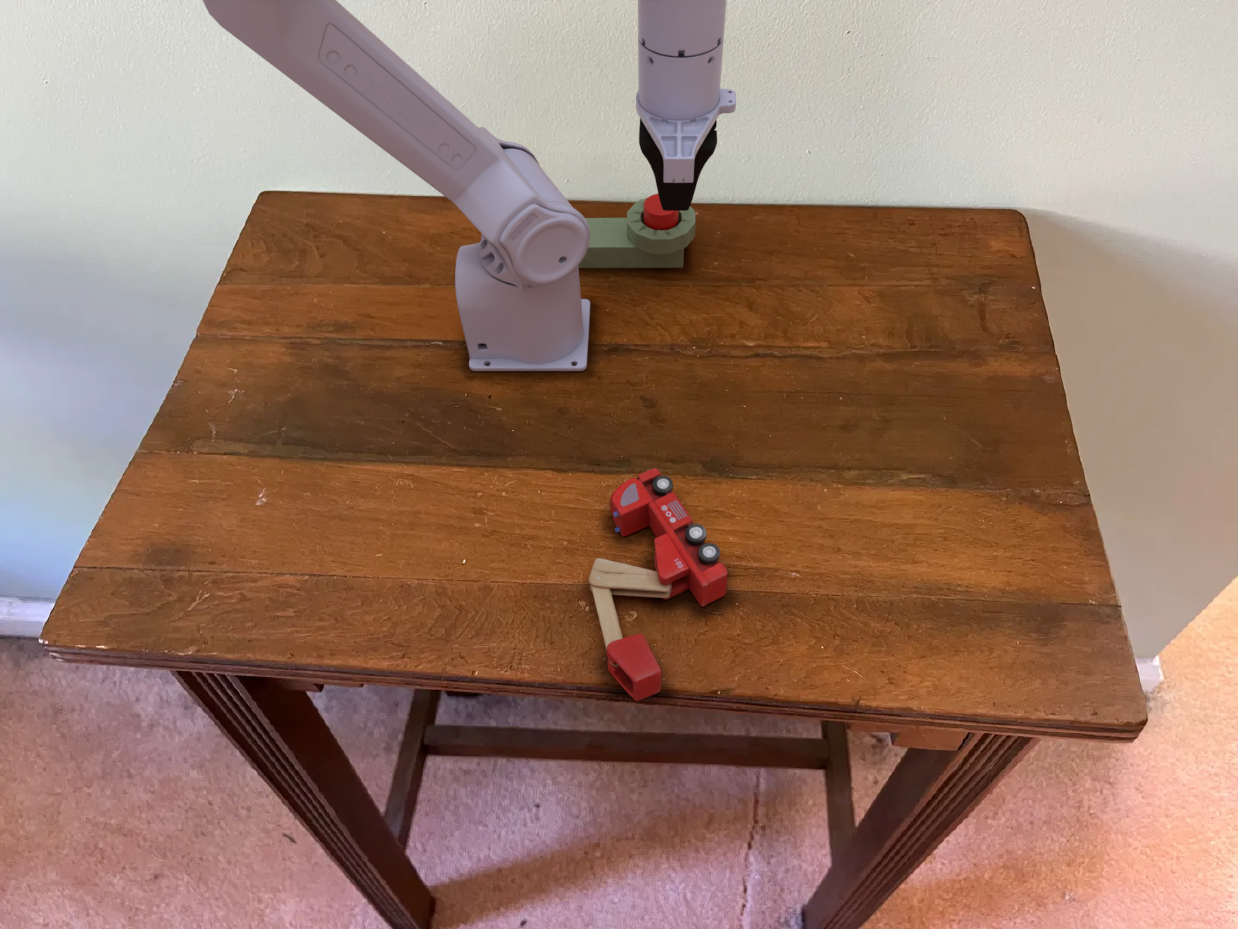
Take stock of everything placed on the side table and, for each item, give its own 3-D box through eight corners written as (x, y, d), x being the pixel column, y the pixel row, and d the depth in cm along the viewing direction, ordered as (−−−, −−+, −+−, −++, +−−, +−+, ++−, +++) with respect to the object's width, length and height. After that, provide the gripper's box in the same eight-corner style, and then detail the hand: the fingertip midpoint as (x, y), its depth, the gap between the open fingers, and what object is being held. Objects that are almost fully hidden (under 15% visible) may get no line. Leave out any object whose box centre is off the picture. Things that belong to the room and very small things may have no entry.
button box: (570, 275, 76) (566, 239, 73) (573, 232, 80) (570, 195, 77) (694, 275, 76) (696, 238, 73) (692, 231, 80) (694, 195, 76)
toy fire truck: (658, 458, 60) (531, 515, 58) (767, 616, 53) (627, 688, 50) (658, 485, 63) (537, 541, 61) (762, 639, 56) (629, 709, 53)
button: (643, 231, 74) (643, 215, 73) (643, 209, 76) (643, 192, 75) (678, 231, 74) (679, 214, 73) (678, 209, 76) (678, 192, 74)
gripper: (746, 95, 53) (729, 266, 64) (736, -18, 62) (723, 150, 73) (631, 96, 53) (634, 266, 64) (637, -17, 62) (639, 150, 73)
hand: (675, 205), depth 69 cm, fingers closed
